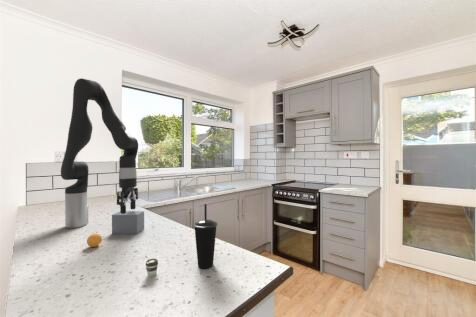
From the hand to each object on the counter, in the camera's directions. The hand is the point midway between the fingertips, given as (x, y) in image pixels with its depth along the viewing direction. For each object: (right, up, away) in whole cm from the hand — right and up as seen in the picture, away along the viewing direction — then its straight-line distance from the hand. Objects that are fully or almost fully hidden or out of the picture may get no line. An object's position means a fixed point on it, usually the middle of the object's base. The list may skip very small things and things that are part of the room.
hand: (128, 211), depth 104 cm
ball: (-5, -7, -17) cm, 19 cm away
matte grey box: (0, -10, +1) cm, 10 cm away
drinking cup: (+42, -10, -33) cm, 54 cm away
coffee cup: (+26, -11, -39) cm, 48 cm away
